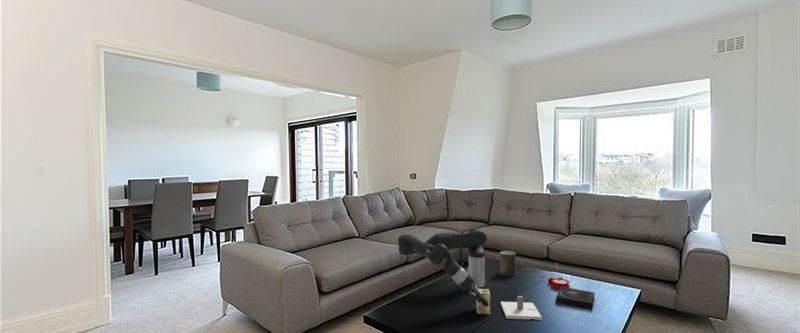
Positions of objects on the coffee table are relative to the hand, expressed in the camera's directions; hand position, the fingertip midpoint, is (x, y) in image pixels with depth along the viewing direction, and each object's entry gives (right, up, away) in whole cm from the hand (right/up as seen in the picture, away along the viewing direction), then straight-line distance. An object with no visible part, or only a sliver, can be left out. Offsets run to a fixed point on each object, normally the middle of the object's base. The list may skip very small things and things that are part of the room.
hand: (486, 302), depth 179 cm
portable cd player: (+49, -4, +12) cm, 51 cm away
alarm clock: (+50, -3, +33) cm, 60 cm away
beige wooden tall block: (-2, -4, 0) cm, 5 cm away
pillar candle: (+27, -2, +56) cm, 62 cm away
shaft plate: (+16, -4, 0) cm, 17 cm away
